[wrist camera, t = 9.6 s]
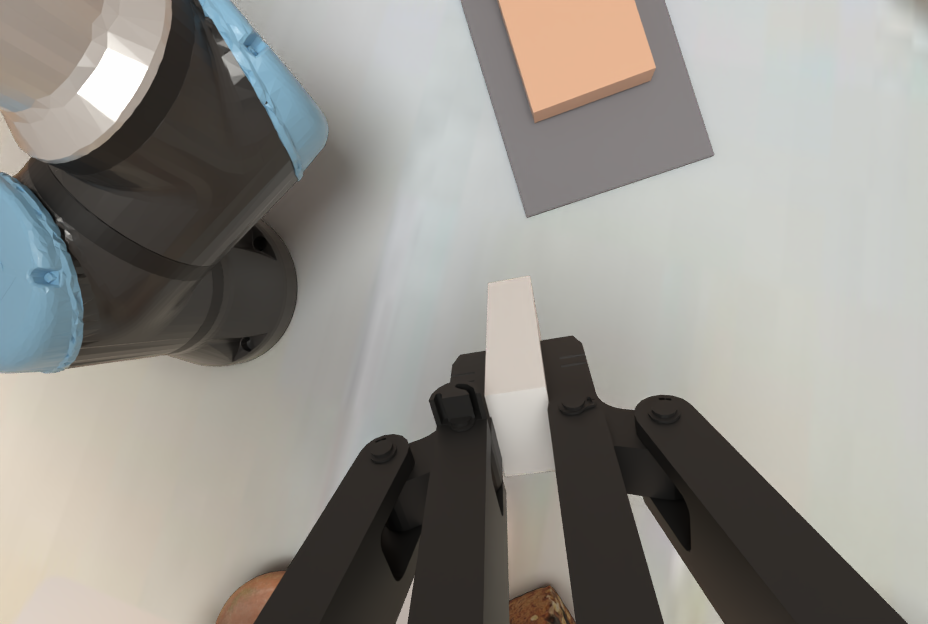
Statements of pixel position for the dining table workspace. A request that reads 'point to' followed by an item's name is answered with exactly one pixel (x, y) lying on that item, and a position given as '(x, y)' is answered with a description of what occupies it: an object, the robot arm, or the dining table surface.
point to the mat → (592, 118)
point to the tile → (576, 50)
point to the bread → (539, 608)
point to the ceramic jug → (249, 599)
